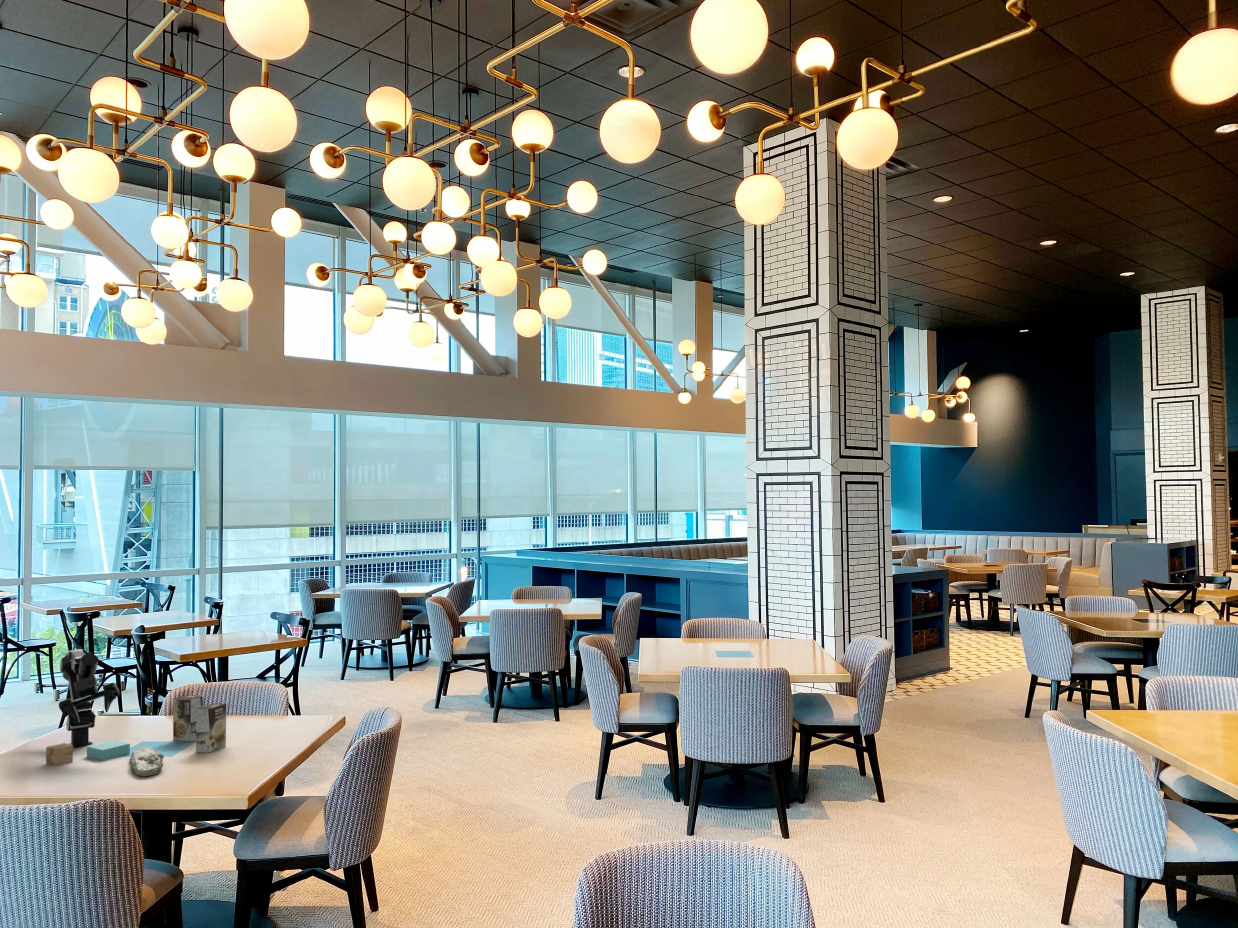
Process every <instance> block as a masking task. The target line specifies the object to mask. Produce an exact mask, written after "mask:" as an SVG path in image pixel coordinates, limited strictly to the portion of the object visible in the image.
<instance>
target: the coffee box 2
mask: <svg viewBox="0 0 1238 928" xmlns="http://www.w3.org/2000/svg"><path fill="white" fill-rule="evenodd" d="M224 746H225V747H226V746H227V703H223V702H222V703H220V702H217V703H215V702H213V703H209V704H205V705H203V706H202V707H199V708H197V717H196V740H195V752H196V753H208V752H210V753H212V751H213V752H216V751H218V750H221V749H223V748H225V747H224ZM222 747H223V748H222ZM217 749H218V750H217Z"/></svg>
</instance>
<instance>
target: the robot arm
mask: <svg viewBox="0 0 1238 928" xmlns="http://www.w3.org/2000/svg"><path fill="white" fill-rule="evenodd" d="M98 665H100V661H99V657H98V655H96V654H93V653H92V652H91V651H87V652H86V651H85V652H84V649H81V648H78V649H77V648H76V649H70V650H68V651H67V654H65V656H63V657H62V658H61V660H60V664H59V671H60V673H61V675H62V678H63V679H64V680H66V681H67V682H68V688H69V692H70V698H67V699H64V700H61V701H59V702H58V708H59V710H60V711H61V713H62V714H63V716H67V718H66V723H65V725H66V726H65V727H66V731H67V732H71V733H70V737H71V738H70V743H69V744H71V745H73V748H79V747H84V746H87V745H92V744H93V741H90V738H89V737H90V735H89V733H90V732H89V731H90V728H92V729H94V727H95V726H96V724H95V722H96V718H97V716H96V714H95V712H94V711H93V709H92V705H91V702H93V701H95V700H97V699H101V698H103V702H104V711H105V713H108V711H109V709H110V707H111V706H112V705H111V704H112V703H113V701H114V700H116V699H117V697H120V695H121V694H120V690H119V687H118V686H117V684H116V683H115V682H110V683H107V684H105V685H103V686H102V689H103V690H100V691H98V686H97V684H98V680H97V678H96V672H97V669H98Z"/></svg>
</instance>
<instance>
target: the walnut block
mask: <svg viewBox="0 0 1238 928" xmlns="http://www.w3.org/2000/svg"><path fill="white" fill-rule="evenodd" d="M69 762H70V763H73V762H74V747H73V745H71V744H70V743H65V742H63V743H59V744H54V745H48V746H46V747H45V765H49V764H50V765H49V766H53V765H54V766H53V767H57V765H58V766H61V764H62V765H64V764H65V763H66V764H69ZM66 764H65V765H66Z"/></svg>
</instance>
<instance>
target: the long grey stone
mask: <svg viewBox="0 0 1238 928" xmlns="http://www.w3.org/2000/svg"><path fill="white" fill-rule="evenodd" d="M164 758H165V756H164V753H163V754H162V753H159V752H157V750H155V748H154V746H153V747H151V746H142V747H141V748H140V747H139V748H137V749H135V750H133V751H132V752H131V755H130V758H129V761H130V765H131V766H130V767H131V770H132V771H134V773H135V775H136V776H141V777H149V776H153V775H157V774H158V773H159V772H161V771H162V769H163V766H164V763H163V760H164Z"/></svg>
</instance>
